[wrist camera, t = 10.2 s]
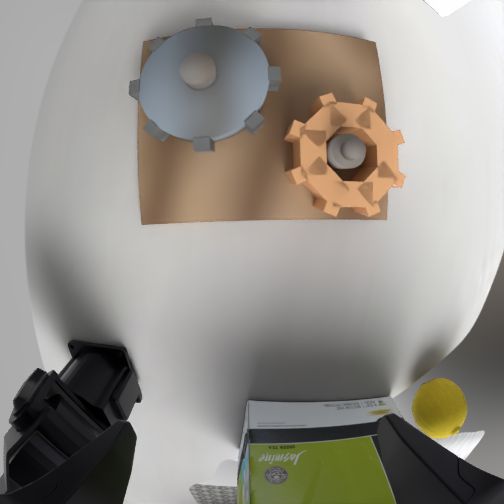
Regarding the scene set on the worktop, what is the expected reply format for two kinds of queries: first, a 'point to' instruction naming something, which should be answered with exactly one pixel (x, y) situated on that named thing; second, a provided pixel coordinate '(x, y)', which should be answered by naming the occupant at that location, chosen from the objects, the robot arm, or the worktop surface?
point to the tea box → (314, 453)
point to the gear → (372, 168)
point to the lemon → (439, 408)
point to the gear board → (268, 152)
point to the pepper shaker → (446, 5)
